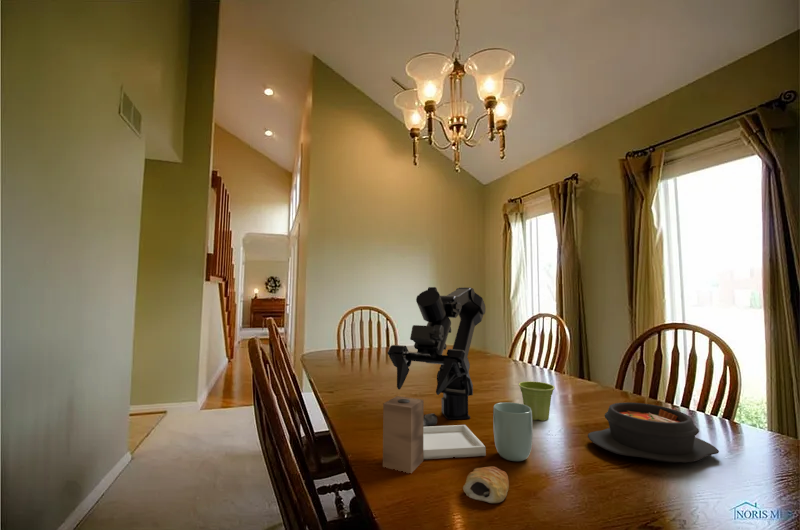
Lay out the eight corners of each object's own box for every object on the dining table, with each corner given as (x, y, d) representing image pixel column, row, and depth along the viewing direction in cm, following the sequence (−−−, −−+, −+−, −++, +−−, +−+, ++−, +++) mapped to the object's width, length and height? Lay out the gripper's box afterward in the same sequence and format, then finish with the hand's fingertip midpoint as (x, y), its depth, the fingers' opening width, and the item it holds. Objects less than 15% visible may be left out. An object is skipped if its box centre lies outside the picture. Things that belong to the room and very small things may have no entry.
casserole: (671, 434, 89) (669, 399, 90) (748, 471, 71) (744, 426, 71) (571, 435, 88) (570, 400, 89) (622, 473, 69) (620, 427, 70)
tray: (465, 432, 89) (465, 424, 90) (485, 455, 76) (485, 446, 77) (412, 435, 87) (412, 427, 88) (423, 459, 74) (423, 450, 75)
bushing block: (396, 455, 76) (397, 395, 77) (423, 461, 74) (423, 399, 75) (382, 466, 71) (383, 402, 72) (410, 473, 68) (411, 406, 69)
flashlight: (431, 422, 96) (431, 411, 96) (437, 426, 94) (437, 415, 94) (394, 429, 91) (395, 417, 91) (400, 433, 88) (400, 421, 89)
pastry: (481, 474, 69) (481, 453, 69) (517, 485, 65) (517, 462, 65) (460, 497, 61) (460, 473, 61) (500, 510, 57) (500, 485, 58)
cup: (536, 467, 71) (534, 414, 72) (494, 463, 73) (494, 411, 74) (530, 451, 79) (529, 403, 80) (492, 447, 80) (492, 401, 81)
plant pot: (562, 419, 100) (561, 386, 101) (541, 425, 95) (540, 391, 95) (533, 410, 108) (532, 379, 108) (512, 415, 102) (511, 384, 103)
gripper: (391, 311, 90) (367, 364, 79) (465, 313, 81) (449, 373, 71) (405, 340, 96) (384, 393, 85) (475, 345, 88) (462, 404, 77)
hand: (417, 390), depth 79 cm, fingers open, 9 cm apart
